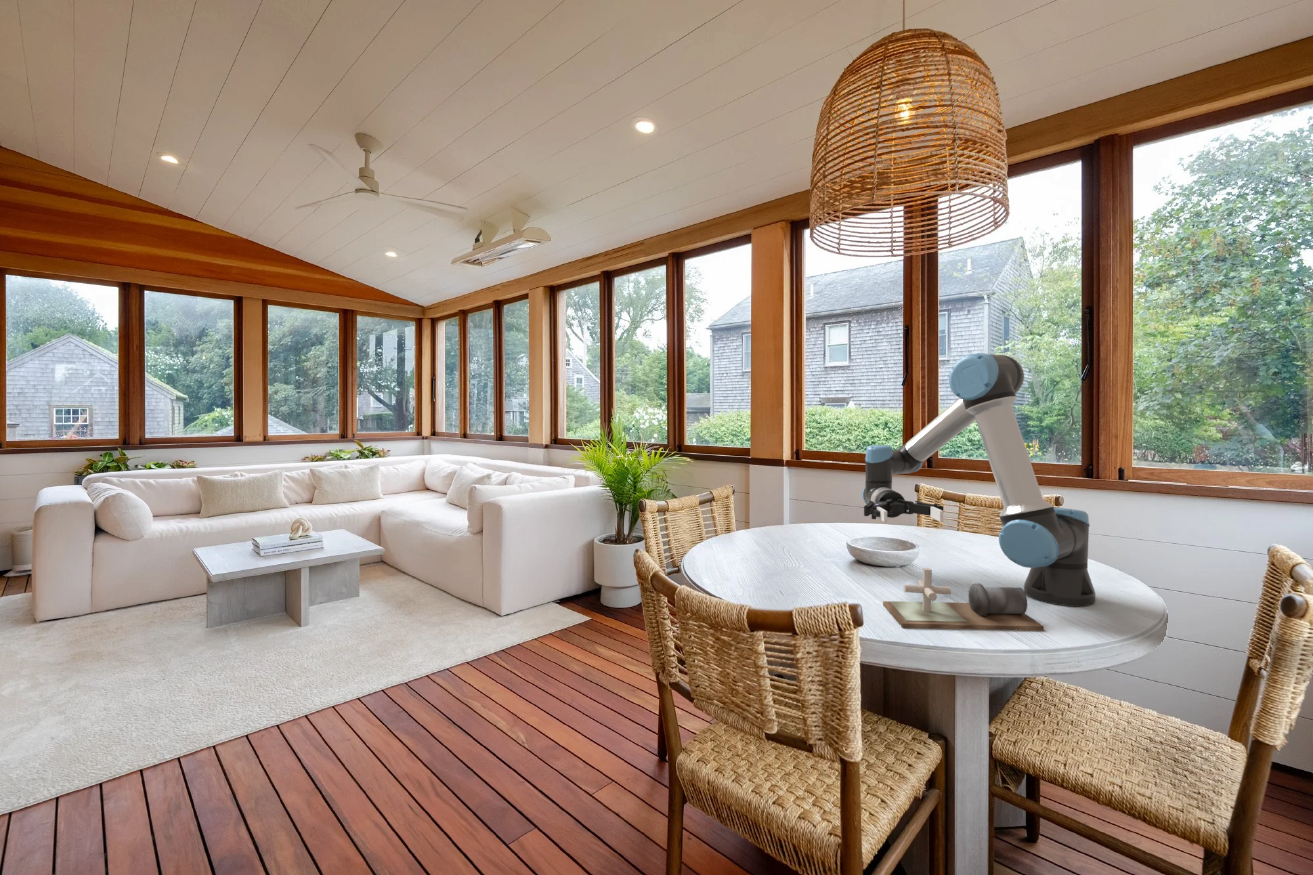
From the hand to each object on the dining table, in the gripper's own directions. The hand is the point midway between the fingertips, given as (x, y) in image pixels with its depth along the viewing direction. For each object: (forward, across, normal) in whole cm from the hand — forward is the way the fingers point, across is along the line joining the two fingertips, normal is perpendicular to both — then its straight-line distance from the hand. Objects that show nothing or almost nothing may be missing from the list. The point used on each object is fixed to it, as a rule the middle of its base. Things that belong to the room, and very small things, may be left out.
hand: (913, 516), depth 148 cm
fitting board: (+10, -7, -22) cm, 25 cm away
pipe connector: (+10, 0, -21) cm, 23 cm away
